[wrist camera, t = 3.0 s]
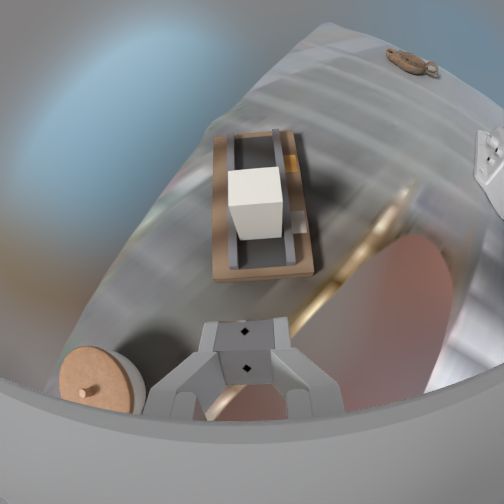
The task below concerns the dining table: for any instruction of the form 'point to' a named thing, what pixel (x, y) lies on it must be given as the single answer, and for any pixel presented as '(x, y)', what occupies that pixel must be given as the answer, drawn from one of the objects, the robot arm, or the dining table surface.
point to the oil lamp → (410, 62)
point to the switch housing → (293, 213)
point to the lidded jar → (102, 380)
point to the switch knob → (256, 202)
